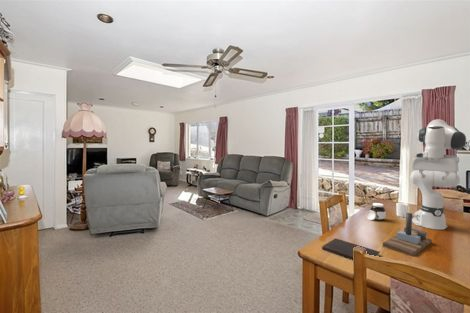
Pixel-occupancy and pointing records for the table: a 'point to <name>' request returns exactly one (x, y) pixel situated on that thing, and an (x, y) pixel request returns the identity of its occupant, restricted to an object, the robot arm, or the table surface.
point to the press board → (408, 244)
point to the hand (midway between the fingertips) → (433, 178)
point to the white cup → (401, 209)
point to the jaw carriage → (408, 232)
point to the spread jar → (376, 212)
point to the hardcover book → (345, 248)
